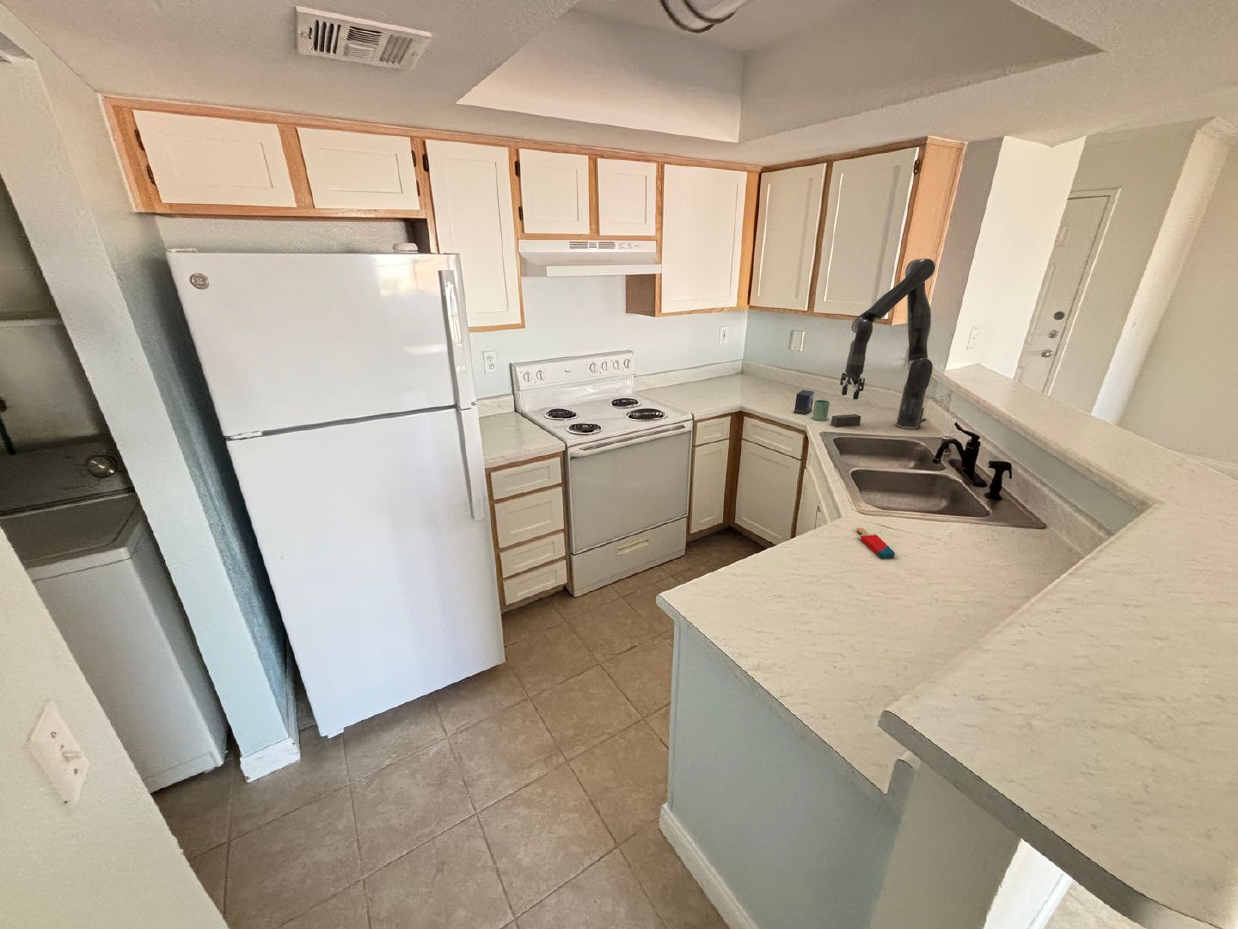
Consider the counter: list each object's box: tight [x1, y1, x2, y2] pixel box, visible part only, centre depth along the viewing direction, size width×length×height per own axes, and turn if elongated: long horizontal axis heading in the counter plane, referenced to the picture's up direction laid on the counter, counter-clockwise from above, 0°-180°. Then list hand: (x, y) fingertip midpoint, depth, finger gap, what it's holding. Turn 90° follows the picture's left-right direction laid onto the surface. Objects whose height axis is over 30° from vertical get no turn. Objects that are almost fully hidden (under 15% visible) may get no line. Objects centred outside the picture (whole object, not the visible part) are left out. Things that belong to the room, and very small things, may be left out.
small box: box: [793, 389, 815, 415], centre depth 264 cm, size 11×6×10 cm, turn 143°
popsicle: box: [856, 527, 896, 559], centre depth 141 cm, size 5×2×15 cm
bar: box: [830, 413, 862, 428], centre depth 242 cm, size 13×4×4 cm, turn 102°
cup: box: [812, 399, 831, 422], centre depth 251 cm, size 7×7×9 cm
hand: (849, 397), depth 238 cm, fingers open, 8 cm apart
